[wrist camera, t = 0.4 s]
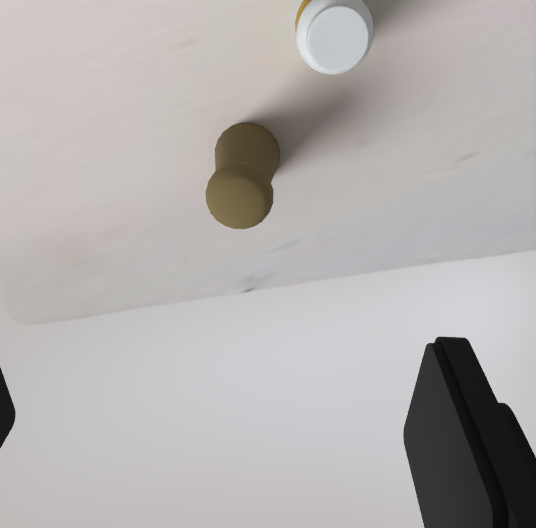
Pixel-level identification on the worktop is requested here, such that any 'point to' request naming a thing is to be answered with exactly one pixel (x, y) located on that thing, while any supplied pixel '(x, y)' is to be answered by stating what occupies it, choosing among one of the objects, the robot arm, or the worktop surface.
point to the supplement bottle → (333, 34)
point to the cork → (243, 176)
